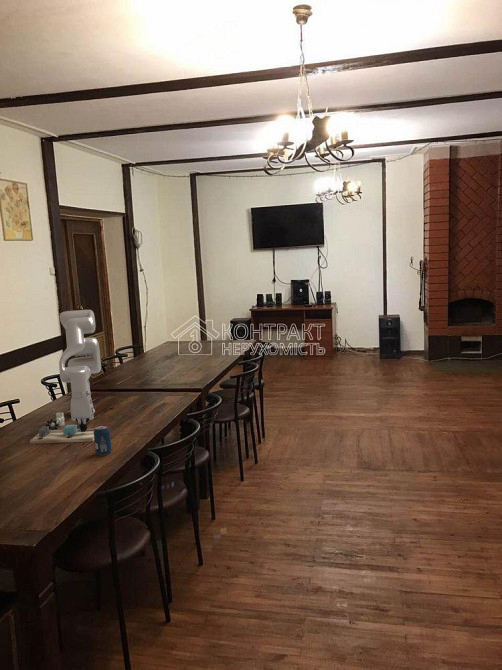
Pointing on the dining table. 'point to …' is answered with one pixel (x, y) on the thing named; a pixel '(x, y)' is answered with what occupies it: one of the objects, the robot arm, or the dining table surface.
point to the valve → (57, 421)
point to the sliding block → (70, 430)
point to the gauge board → (61, 436)
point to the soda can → (102, 440)
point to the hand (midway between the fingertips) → (83, 431)
